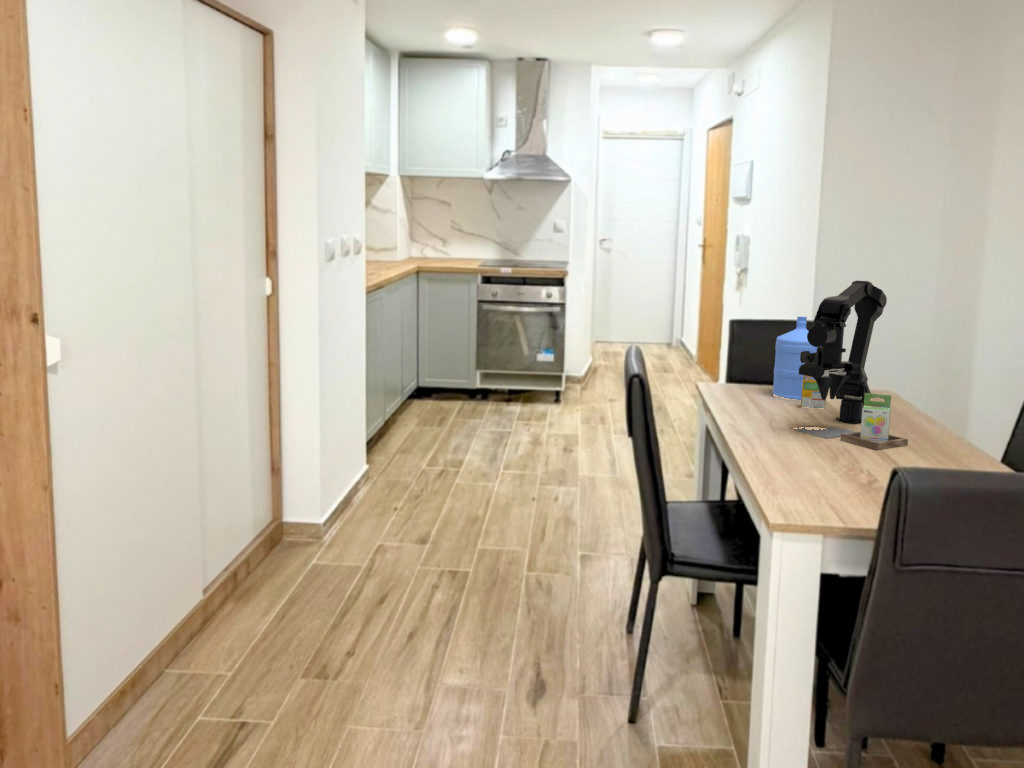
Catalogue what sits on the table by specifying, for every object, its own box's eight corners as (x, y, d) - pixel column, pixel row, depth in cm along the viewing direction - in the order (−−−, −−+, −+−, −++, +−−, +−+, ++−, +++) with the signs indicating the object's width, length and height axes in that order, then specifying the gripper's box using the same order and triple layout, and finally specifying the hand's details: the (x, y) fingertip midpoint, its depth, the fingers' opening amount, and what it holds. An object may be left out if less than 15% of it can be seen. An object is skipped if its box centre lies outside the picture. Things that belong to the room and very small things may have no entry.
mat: (824, 425, 279) (824, 423, 279) (862, 435, 267) (862, 433, 267) (788, 429, 272) (788, 427, 272) (826, 439, 260) (826, 437, 260)
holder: (871, 437, 264) (871, 430, 264) (907, 446, 254) (908, 439, 253) (840, 441, 258) (840, 434, 258) (876, 450, 248) (876, 443, 248)
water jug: (826, 405, 311) (833, 319, 307) (778, 404, 311) (784, 318, 307) (812, 396, 327) (818, 315, 322) (766, 395, 327) (772, 314, 322)
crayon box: (824, 410, 302) (827, 374, 300) (825, 412, 299) (827, 376, 297) (800, 409, 303) (802, 373, 301) (800, 411, 300) (803, 374, 298)
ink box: (859, 444, 255) (863, 395, 253) (860, 441, 259) (864, 392, 257) (887, 447, 253) (891, 397, 250) (887, 444, 256) (892, 395, 254)
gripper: (833, 339, 277) (829, 392, 279) (786, 342, 268) (782, 396, 270) (864, 344, 267) (859, 398, 270) (816, 347, 258) (811, 403, 261)
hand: (827, 399), depth 268 cm, fingers open, 3 cm apart
